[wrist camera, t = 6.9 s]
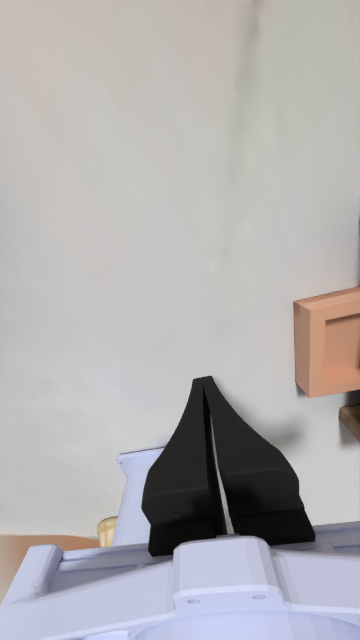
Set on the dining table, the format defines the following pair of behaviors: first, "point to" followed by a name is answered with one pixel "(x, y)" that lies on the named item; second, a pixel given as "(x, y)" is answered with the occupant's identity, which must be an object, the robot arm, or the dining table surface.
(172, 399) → the dining table surface
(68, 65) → the dining table surface
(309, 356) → the shallow pink tray
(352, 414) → the wooden block
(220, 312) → the dining table surface
